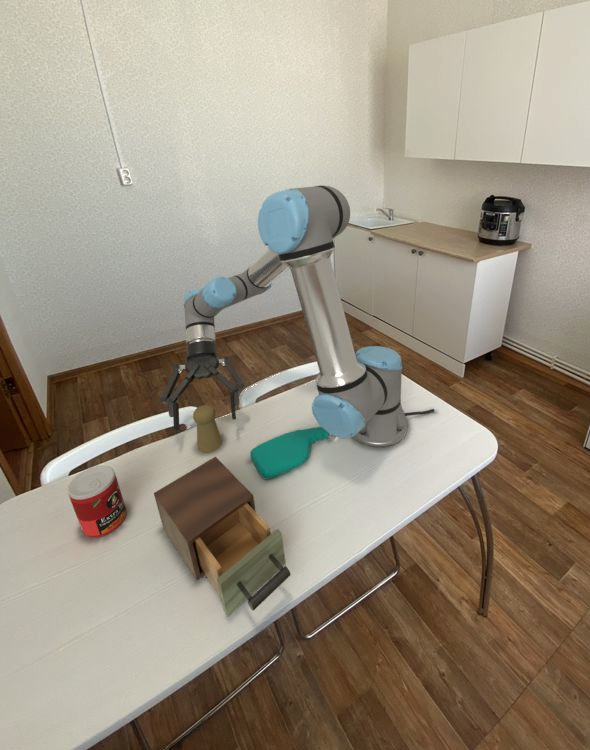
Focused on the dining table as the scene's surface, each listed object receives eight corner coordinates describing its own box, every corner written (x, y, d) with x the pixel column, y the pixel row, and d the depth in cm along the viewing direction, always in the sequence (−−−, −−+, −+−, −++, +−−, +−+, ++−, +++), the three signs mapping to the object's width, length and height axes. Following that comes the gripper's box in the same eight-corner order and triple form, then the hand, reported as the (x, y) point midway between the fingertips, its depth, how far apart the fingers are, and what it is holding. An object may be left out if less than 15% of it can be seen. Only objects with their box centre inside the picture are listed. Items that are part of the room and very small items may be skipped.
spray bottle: (248, 456, 94) (334, 419, 107) (264, 485, 86) (356, 442, 99) (247, 446, 93) (334, 410, 106) (263, 475, 85) (355, 432, 98)
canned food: (106, 542, 74) (92, 500, 70) (72, 535, 75) (55, 493, 71) (136, 508, 81) (124, 468, 77) (104, 502, 82) (90, 462, 78)
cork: (227, 439, 100) (221, 404, 96) (210, 455, 95) (202, 419, 91) (210, 433, 102) (203, 398, 98) (192, 448, 97) (184, 412, 93)
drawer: (303, 583, 65) (300, 551, 63) (244, 642, 57) (237, 609, 55) (245, 518, 77) (240, 489, 74) (189, 560, 69) (181, 529, 67)
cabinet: (258, 531, 75) (253, 494, 72) (196, 581, 67) (187, 542, 63) (221, 490, 85) (215, 456, 81) (163, 529, 76) (153, 493, 73)
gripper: (249, 341, 111) (257, 416, 103) (154, 355, 104) (155, 436, 96) (247, 333, 104) (256, 412, 96) (146, 347, 98) (146, 432, 89)
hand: (205, 424), depth 96 cm, fingers open, 13 cm apart
